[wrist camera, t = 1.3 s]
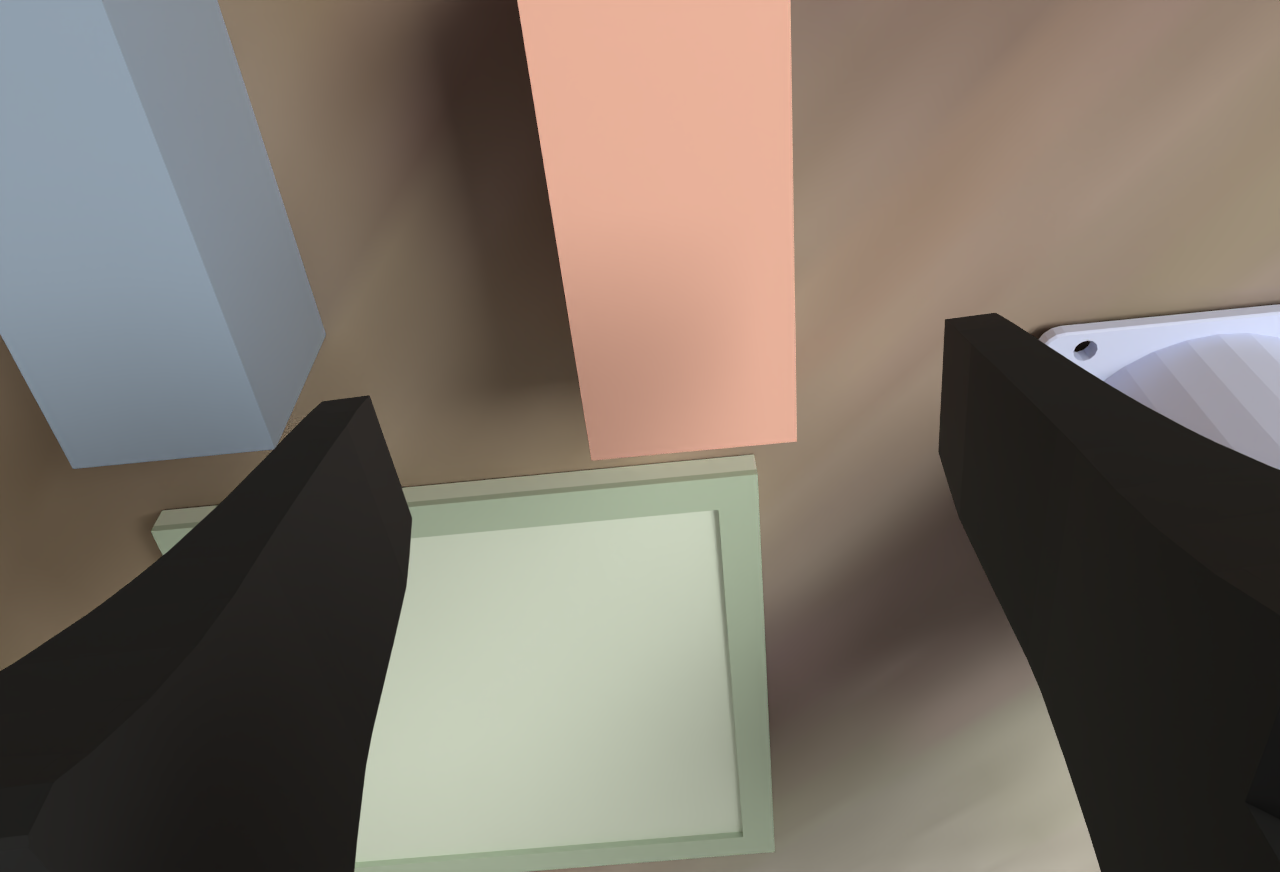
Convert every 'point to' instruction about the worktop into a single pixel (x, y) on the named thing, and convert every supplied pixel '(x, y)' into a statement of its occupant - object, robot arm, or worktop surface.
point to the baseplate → (571, 674)
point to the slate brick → (144, 235)
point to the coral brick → (672, 215)
